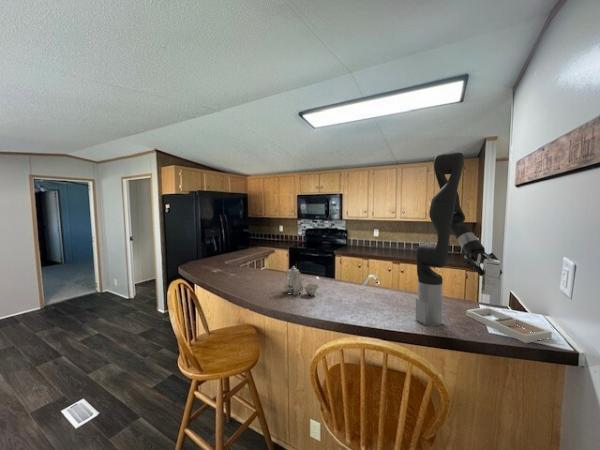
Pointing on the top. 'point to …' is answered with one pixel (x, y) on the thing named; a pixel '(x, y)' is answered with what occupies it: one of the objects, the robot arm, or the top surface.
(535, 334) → the two-slot holder
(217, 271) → the top surface
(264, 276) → the top surface
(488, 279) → the syrup box
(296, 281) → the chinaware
